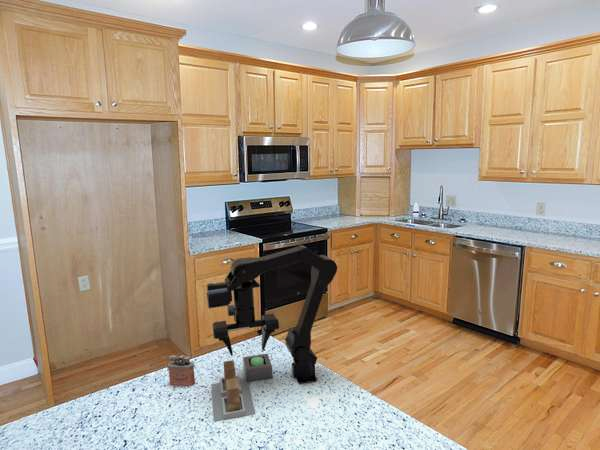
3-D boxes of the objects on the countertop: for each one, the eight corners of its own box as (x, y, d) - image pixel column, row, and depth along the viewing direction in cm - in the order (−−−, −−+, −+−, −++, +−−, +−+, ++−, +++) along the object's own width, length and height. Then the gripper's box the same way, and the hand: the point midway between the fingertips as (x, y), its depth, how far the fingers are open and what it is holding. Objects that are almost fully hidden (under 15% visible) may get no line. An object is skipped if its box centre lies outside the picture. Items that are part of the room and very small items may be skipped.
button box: (268, 367, 130) (267, 353, 129) (272, 380, 122) (271, 365, 121) (243, 371, 128) (243, 357, 127) (246, 384, 120) (245, 369, 119)
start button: (262, 366, 127) (262, 356, 126) (264, 372, 123) (264, 362, 122) (250, 368, 126) (249, 357, 125) (252, 374, 122) (251, 364, 121)
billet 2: (238, 402, 110) (236, 377, 109) (240, 413, 105) (238, 387, 104) (227, 404, 109) (225, 379, 108) (228, 415, 104) (227, 389, 103)
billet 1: (234, 382, 119) (233, 360, 118) (236, 392, 115) (235, 368, 113) (224, 384, 119) (223, 361, 117) (226, 394, 114) (224, 370, 113)
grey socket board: (247, 381, 122) (247, 373, 122) (255, 417, 105) (255, 409, 104) (211, 387, 119) (210, 379, 119) (213, 425, 102) (213, 416, 102)
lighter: (197, 383, 121) (195, 353, 120) (193, 390, 118) (190, 359, 116) (172, 382, 122) (169, 353, 121) (167, 389, 119) (164, 358, 117)
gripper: (270, 289, 124) (272, 336, 126) (209, 297, 119) (213, 345, 121) (278, 301, 113) (280, 352, 116) (211, 311, 108) (216, 363, 111)
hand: (247, 352), depth 116 cm, fingers open, 9 cm apart
